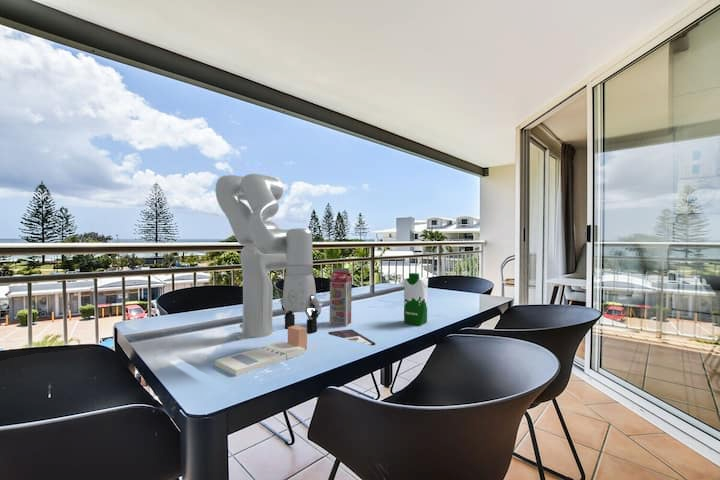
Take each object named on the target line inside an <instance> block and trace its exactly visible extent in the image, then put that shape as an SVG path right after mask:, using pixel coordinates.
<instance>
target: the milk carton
mask: <svg viewBox="0 0 720 480" xmlns="http://www.w3.org/2000/svg"><path fill="white" fill-rule="evenodd" d="M408 275H409V276H408V277H404V278H403V288H404V289H403V322H404V323H403V324H408V325H413V326H420V327H421V326H423V325H424V324H427V322H428V285H429V278H428V277H420V273H415V272H411V273H408Z"/></svg>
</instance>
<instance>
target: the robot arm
mask: <svg viewBox="0 0 720 480" xmlns="http://www.w3.org/2000/svg"><path fill="white" fill-rule="evenodd" d="M283 192H284V187H283V183H282V182H281V181H280V179H278V178H277V177H275V176H270V175H269V176H268V175H263V174H258V173H250V174H249V173H248V174H246V175H244V176H241V175H234V174H231V175H229V174H228V175H223V176H221V177H219V178H218V179H217V181H216V183H215V197H216V201H217V203H218V205H219V207H220V209H221V211H222V212H223V214H224V215H225V217H226V218H227V220H228V222H229V225H230V227H231V230H232V232H233V235H234V237H235V239H236V241H237V243H238V244H239V245H241V246H243V247H242V249H241V251H240V254H239V260H240V267H241V271H242V322H241V323H240V324H239V328H241V332H240V333H238V334H237V337H236V339H237V340H238V341H241V340H245V339H248V338H251V339H252V338H253V339H254V338H255V339H256V338H257V339H258V338H265V337H268V336H271V335H273V333H274V332H275V330H273V308H274V307H273V303H274V302H273V300H274V297H273V296H274V292H273V290H274V287H273V286H274V285H273V282H272V281H273V280H272V279H271V277H270V276H269V274H268V272H269V271H270V272H272V271H281V270H286V275H285V276H284V280H283V287H282V289H283V290H282V297H281V298H280V300H279V302H280V305H281V309H282V312H283V316H284V329H285V330H288V327H291V326H295V325H296V324H295V323H296V322H295V319H296V318H295V314H294V312H296V313H304V314H306V316H307V319H306V328H307V335H312V334H315V333H317V332H318V326H317V324H318V323H317V322H318V321H317V320H318V318H319V315H320V314H321V312H322V308H323V303H322V302H321V301H320V300H318V299H317V291H316V282H315V276H314V273H313V272H314V270H313V269H314V267H313V266H314V264H313V262H314V260H313V259H314V257H313V256H314V255H313V232H312V230H311V229H309V228H301V227H300V228H290V229H284V228H281V227H280V226H279V225H278V224H277V223H275V222H274V221H272V220H269V219H272V218H273V217H274V216H275V215H277V213H278V212H279V208H280V206H279V202H278V201H280V199H281V198H282V196H283V194H284V193H283ZM243 201H247V203H248V205H249V206H248V205H247V204H246V203H244V202H243Z"/></svg>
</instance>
